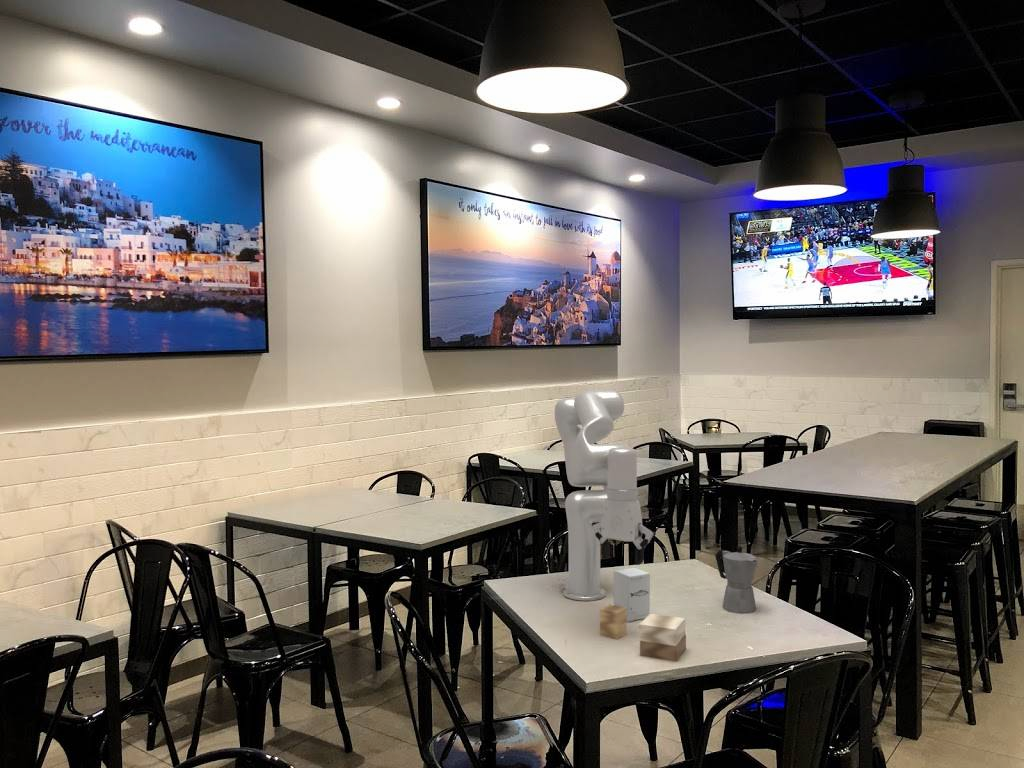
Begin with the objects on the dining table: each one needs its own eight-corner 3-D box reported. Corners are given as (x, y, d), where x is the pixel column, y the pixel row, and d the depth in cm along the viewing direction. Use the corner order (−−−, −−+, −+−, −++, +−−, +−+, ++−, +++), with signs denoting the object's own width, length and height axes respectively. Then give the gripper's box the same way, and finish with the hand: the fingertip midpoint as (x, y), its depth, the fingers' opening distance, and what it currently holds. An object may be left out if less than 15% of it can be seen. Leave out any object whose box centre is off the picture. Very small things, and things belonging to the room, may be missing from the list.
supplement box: (628, 622, 227) (628, 576, 226) (612, 614, 233) (612, 570, 233) (650, 618, 230) (650, 573, 230) (634, 610, 237) (634, 566, 236)
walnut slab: (640, 657, 202) (640, 641, 202) (650, 645, 210) (650, 629, 210) (676, 663, 198) (676, 646, 198) (685, 650, 206) (686, 634, 206)
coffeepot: (768, 611, 235) (769, 548, 235) (746, 617, 230) (746, 553, 229) (727, 598, 248) (727, 538, 247) (704, 603, 243) (704, 542, 242)
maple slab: (639, 640, 202) (639, 624, 202) (650, 629, 210) (650, 613, 210) (675, 646, 198) (675, 629, 198) (685, 634, 206) (685, 618, 206)
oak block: (600, 635, 216) (600, 609, 216) (609, 630, 220) (609, 604, 220) (617, 639, 213) (617, 612, 213) (626, 634, 218) (626, 607, 217)
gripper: (585, 494, 218) (586, 559, 219) (645, 500, 208) (645, 568, 208) (600, 490, 224) (600, 553, 225) (659, 496, 214) (659, 562, 214)
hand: (622, 560), depth 217 cm, fingers open, 9 cm apart
